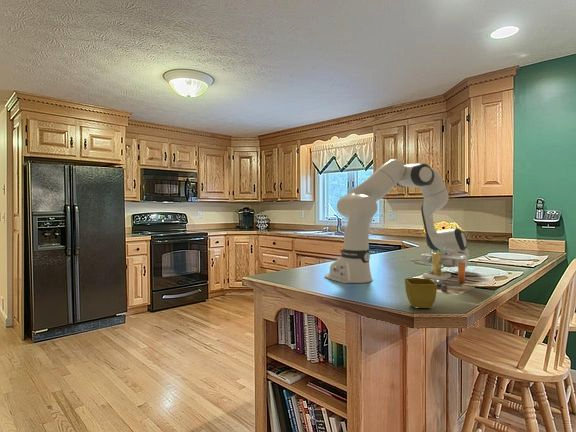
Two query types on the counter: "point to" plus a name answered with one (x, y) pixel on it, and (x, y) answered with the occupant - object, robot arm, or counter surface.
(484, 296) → the counter surface
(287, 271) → the counter surface
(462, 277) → the crank
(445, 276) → the dish
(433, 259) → the pin
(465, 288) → the crank base
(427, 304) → the flower pot
